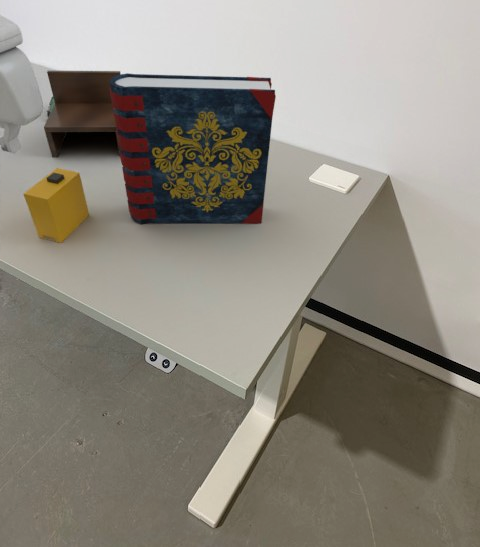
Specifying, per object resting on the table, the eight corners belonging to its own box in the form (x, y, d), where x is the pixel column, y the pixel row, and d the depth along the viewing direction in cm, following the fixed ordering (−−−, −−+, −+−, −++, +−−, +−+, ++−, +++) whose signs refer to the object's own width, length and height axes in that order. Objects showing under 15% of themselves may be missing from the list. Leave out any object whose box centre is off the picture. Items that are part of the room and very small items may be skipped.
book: (127, 225, 78) (104, 87, 60) (131, 204, 83) (111, 71, 65) (262, 225, 80) (276, 92, 63) (258, 204, 85) (271, 76, 68)
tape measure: (61, 243, 73) (46, 195, 66) (38, 237, 74) (21, 189, 67) (89, 214, 79) (78, 169, 73) (68, 209, 80) (55, 164, 73)
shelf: (51, 157, 94) (34, 93, 85) (62, 129, 104) (47, 70, 95) (124, 155, 96) (115, 93, 87) (128, 129, 106) (120, 70, 97)
